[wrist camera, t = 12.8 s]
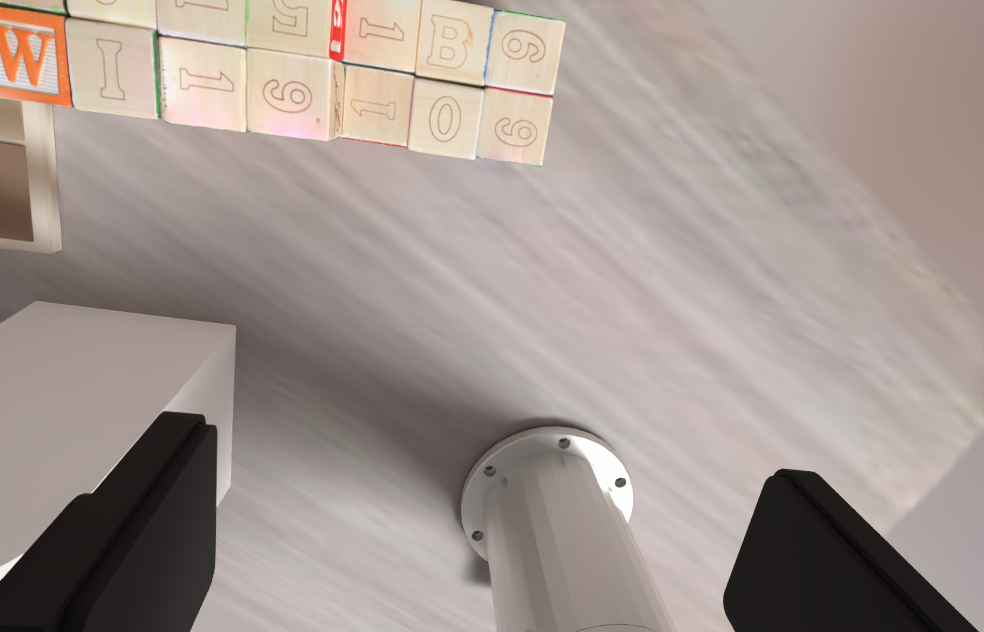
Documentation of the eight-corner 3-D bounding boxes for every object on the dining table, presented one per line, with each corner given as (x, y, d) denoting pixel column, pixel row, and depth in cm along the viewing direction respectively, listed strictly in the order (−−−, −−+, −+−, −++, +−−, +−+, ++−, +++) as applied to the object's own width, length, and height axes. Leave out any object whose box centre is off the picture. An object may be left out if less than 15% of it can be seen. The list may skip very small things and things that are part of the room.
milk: (230, 485, 42) (-51, 1032, 17) (49, 470, 40) (-542, 1051, 16) (236, 325, 38) (-116, 741, 14) (36, 300, 36) (-777, 724, 12)
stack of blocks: (534, 40, 34) (587, 11, 22) (516, 153, 36) (556, 181, 24) (128, -34, 31) (-52, -110, 19) (133, 95, 33) (-27, 95, 21)
